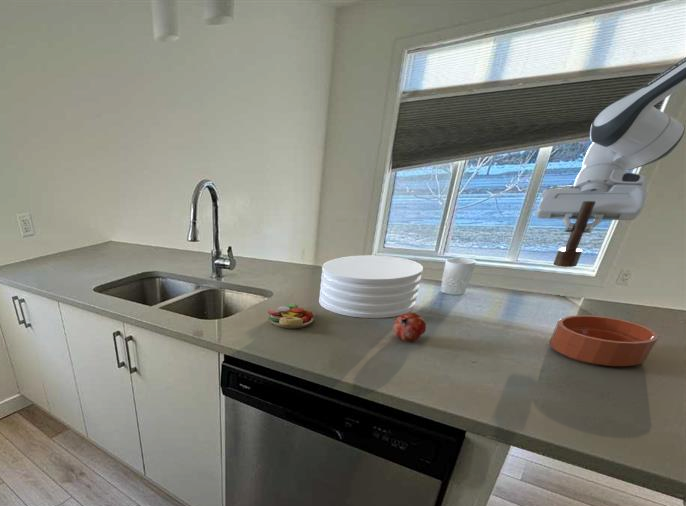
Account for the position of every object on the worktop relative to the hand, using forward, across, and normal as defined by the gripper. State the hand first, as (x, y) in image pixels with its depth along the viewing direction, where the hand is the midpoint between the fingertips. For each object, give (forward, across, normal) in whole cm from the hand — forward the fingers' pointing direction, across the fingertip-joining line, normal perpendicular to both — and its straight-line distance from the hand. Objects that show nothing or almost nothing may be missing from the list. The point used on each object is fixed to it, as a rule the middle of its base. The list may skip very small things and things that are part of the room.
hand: (577, 231), depth 106 cm
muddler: (+6, 0, +7) cm, 9 cm away
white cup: (+14, -24, +14) cm, 31 cm away
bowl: (+36, +10, -8) cm, 38 cm away
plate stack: (+30, -44, -2) cm, 53 cm away
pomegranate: (+45, -24, -17) cm, 54 cm away
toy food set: (+48, -55, -20) cm, 76 cm away
